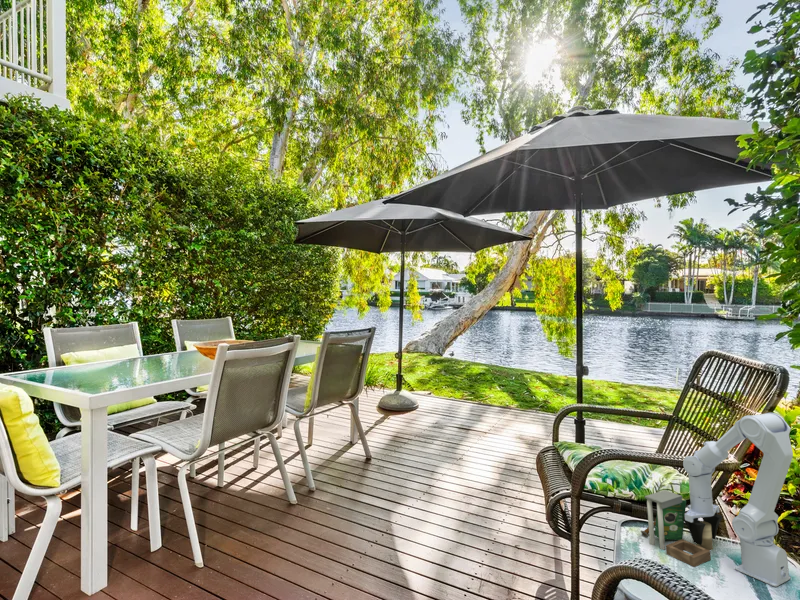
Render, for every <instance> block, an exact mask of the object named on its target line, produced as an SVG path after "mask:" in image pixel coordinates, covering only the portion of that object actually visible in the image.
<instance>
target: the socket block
mask: <svg viewBox="0 0 800 600" xmlns="http://www.w3.org/2000/svg"><path fill="white" fill-rule="evenodd" d="M665 552H666V555H668V556H669V557H672V558H674V559H677V560H678V561H681V562H683V563H685V564H687V565H690V566H692V567H693V568H696V567H698V566H700V565H702V564H704V563H707V562H709V561H711V560H712V555H711V554H712V553H711V550H707V549H705V548H703V547H700V546H698V545H697V544H696V543H694V542H691V541H689V540H686V539H684V538H682V539H681V540H675V541H673V542H671V543H669V544H665Z"/></svg>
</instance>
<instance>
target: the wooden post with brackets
mask: <svg viewBox="0 0 800 600" xmlns="http://www.w3.org/2000/svg"><path fill="white" fill-rule="evenodd" d="M653 523H654V535H655V525H656V518H655V519H654V520H653ZM640 533H641V535H642V536H644V537H646V538H649V536H648V535H649V526H648V527H647V528H646V529H644V530H640Z"/></svg>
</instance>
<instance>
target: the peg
mask: <svg viewBox="0 0 800 600" xmlns="http://www.w3.org/2000/svg"><path fill="white" fill-rule="evenodd" d="M699 521H700V522H702V523H704V524H706V525H705V527H704V529H703V536H702V544H701V545H699V544H697V543H696V545H698V546H700V547H703V548H705V549H707V550H710V551H712V549H714V547H713V546H714V545H713V539H712V531H711V524H710V523H708V522H705V521H703V520H699Z"/></svg>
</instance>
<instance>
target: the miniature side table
mask: <svg viewBox="0 0 800 600" xmlns="http://www.w3.org/2000/svg"><path fill="white" fill-rule="evenodd" d="M682 498H683V495H681V494H678V493H674V492H671V491H670V490H665V489H663V490H661V491H657V492H653V493H651V494H648V495H644V499H646V507H647V522H648V527H649V534H648V535H649V536H648V538H649V545H650V546H651V545H652V546H655V545H656V540H655V537H656V536H655V534H654V530H655V528H654V523H653V522H654V511H653V502H655V503H656V515H657V514H658V528H659V538H658V539H659V540H658V541H659V549H660V550H663V551H666V544H665V543H666V540H665V539H664V525H663V511H662V509H664V508H667V507H670V506H673V505H676V504H679V503H682Z"/></svg>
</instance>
